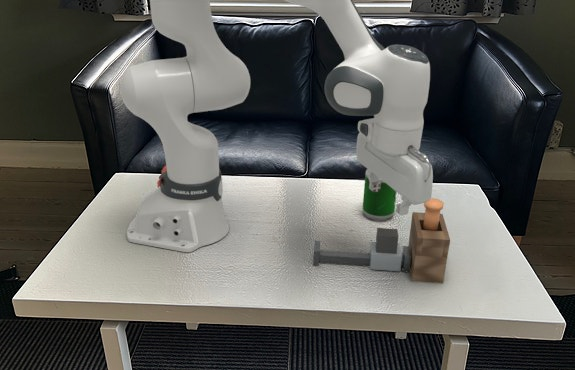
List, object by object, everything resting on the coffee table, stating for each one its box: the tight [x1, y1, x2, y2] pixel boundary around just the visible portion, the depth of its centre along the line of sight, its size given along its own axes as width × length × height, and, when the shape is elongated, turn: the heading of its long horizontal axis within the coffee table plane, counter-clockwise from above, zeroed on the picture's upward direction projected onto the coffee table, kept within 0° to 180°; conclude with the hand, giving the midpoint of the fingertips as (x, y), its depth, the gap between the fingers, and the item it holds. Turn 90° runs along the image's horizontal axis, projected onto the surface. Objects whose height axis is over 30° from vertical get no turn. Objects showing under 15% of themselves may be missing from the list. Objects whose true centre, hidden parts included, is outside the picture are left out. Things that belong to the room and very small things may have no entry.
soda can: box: [362, 169, 398, 222], centre depth 132 cm, size 8×8×12 cm
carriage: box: [369, 227, 402, 272], centre depth 114 cm, size 6×5×8 cm
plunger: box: [423, 197, 445, 231], centre depth 110 cm, size 4×4×6 cm
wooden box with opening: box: [407, 211, 451, 284], centre depth 113 cm, size 6×10×10 cm, turn 174°
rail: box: [312, 240, 411, 273], centre depth 115 cm, size 19×4×4 cm, turn 84°
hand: (387, 201), depth 110 cm, fingers open, 8 cm apart
